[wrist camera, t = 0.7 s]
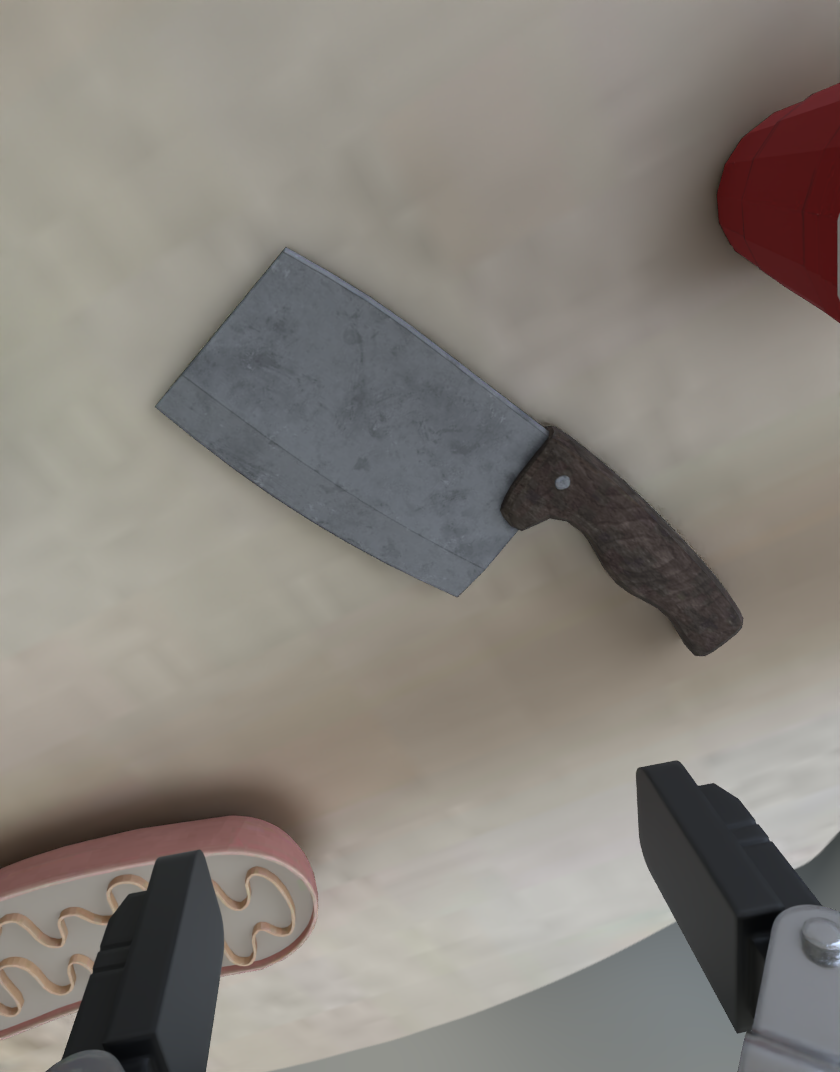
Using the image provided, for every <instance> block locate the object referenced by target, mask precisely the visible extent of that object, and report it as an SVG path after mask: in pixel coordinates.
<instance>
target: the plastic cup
mask: <svg viewBox="0 0 840 1072" xmlns="http://www.w3.org/2000/svg"><path fill="white" fill-rule="evenodd" d="M717 203H718V216H719V223H720V225H721V227H722V229H723V231H724V233H725V235H726V237H727V239H728V241H729V243H730V245H732V246H733V248H734V250H735V251H736V252H738V253H739V254H740V255H742V256H743V257H745V258H746V259H747V260H749V261H750V262H752V263H753V264H754V265H756V266H758V267H759V269H760V270H762V271H763V272H765V273H766V274H767V275H769V276H770V277H772V278H773V279H775V280H776V281H777V282H779V283H780V284H782V285H783V286H784V287H786V288H788V289H789V290H791V291H792V292H794V293H795V294H797V295H799V296H800V297H802V298H803V299H805V300H806V301H808V302H810V303H811V304H813V305H814V306H816V307H817V308H819V309H821V310H822V311H824V312H825V313H827V314H828V315H829V316H831V317H832V318H833V319H835V320H836V321H838V322H839V323H840V83H838V84H836V85H833V86H831V87H829V88H826V89H824V90H821V91H819V92H817V93H814V94H812V95H810V96H809V97H808V98H807V99H805V100H804V101H802V102H800V103H797V104H795V105H792V106H790V107H787V108H785V109H782V110H780V111H777V112H775V113H773V114H772V115H770V116H769V117H768V118H767V119H765V120H764V121H763V122H762V123H760V124H759V125H758V126H757V127H755V128H754V129H753V130H752V131H750V132H749V133H748V134H746V135H745V136H744V137H743V138H742V139H741V140H740V142H739V144H738V145H737V147H736V148H735V150H734V151H733V153H732V154H731V156H730V157H729V159H728V161H727V162H726V164H725V166H724V170H723V173H722V177H721V181H720V185H719V188H718V192H717Z"/></svg>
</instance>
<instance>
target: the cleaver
mask: <svg viewBox="0 0 840 1072" xmlns="http://www.w3.org/2000/svg"><path fill="white" fill-rule="evenodd" d="M155 407H156V408H157V409H158V410H159V411H161V412H162V413H163V414H164V415H166V416H167V417H168V418H169V419H171V420H172V421H173V422H174V423H176V424H177V425H178V426H179V427H180V428H182V429H183V430H184V431H185V432H187V433H188V434H189V435H190V436H192V437H193V438H194V439H195V440H197V441H198V442H199V443H201V444H202V445H203V446H205V447H206V448H207V449H208V450H210V451H211V452H212V453H214V454H215V455H216V456H218V457H219V458H220V459H221V460H223V461H224V462H225V463H227V464H228V465H229V466H231V467H232V468H233V469H235V470H236V471H237V472H239V473H240V474H242V475H243V476H245V477H246V478H247V479H249V480H250V481H252V482H253V483H254V484H256V485H257V486H259V487H260V488H262V489H263V490H264V491H266V492H267V493H269V494H270V495H271V496H273V497H275V498H276V499H278V500H279V501H281V502H282V503H284V504H285V505H287V506H288V507H290V508H292V509H293V510H295V511H296V512H298V513H299V514H301V515H302V516H304V517H306V518H307V519H309V520H310V521H312V522H314V523H315V524H317V525H319V526H320V527H322V528H324V529H325V530H327V531H329V532H330V533H332V534H334V535H335V536H337V537H339V538H340V539H342V540H344V541H346V542H347V543H349V544H351V545H353V546H355V547H356V548H358V549H360V550H362V551H364V552H366V553H368V554H369V555H371V556H373V557H375V558H377V559H379V560H380V561H382V562H384V563H386V564H388V565H390V566H392V567H394V568H396V569H398V570H400V571H403V572H405V573H407V574H409V575H411V576H413V577H415V578H417V579H419V580H421V581H423V582H425V583H427V584H430V585H432V586H434V587H436V588H438V589H440V590H443V591H445V592H447V593H449V594H451V595H453V596H455V597H458V596H459V595H460V594H461V593H462V592H463V591H464V590H465V589H466V588H467V587H468V586H469V585H470V584H471V583H472V582H473V581H474V580H475V579H476V578H477V577H478V576H479V575H480V574H481V573H482V572H483V571H484V570H485V569H486V568H487V567H488V566H489V564H490V563H491V562H492V561H493V560H494V558H495V557H496V556H497V555H498V554H499V553H500V551H501V550H502V549H503V548H504V547H505V545H506V544H507V543H508V542H509V541H510V539H511V538H512V537H513V536H514V535H515V534H516V532H517V531H518V530H521V531H523V530H525V529H527V528H530V527H532V526H534V525H537V524H539V523H541V522H543V521H545V520H548V519H556V520H562V521H567V522H568V523H570V524H571V525H573V526H574V527H576V528H577V529H578V530H580V531H581V532H582V533H583V534H584V536H585V537H586V538H587V539H588V541H589V542H590V544H591V546H592V548H593V549H594V551H595V553H596V555H597V557H598V558H599V560H600V562H601V564H602V566H603V567H604V569H605V570H606V571H607V572H608V574H609V575H610V576H611V578H612V579H613V580H614V581H615V582H616V584H618V585H619V586H620V587H622V588H623V589H624V590H626V591H627V592H629V593H630V594H632V595H634V596H636V597H638V598H640V599H642V600H644V601H645V602H647V603H649V604H651V605H653V606H655V607H656V608H658V609H659V610H660V611H661V612H662V613H664V614H665V615H666V616H667V617H668V618H669V620H670V621H671V623H672V624H673V626H674V627H675V629H676V630H677V632H678V634H679V636H680V637H681V639H682V641H683V643H684V644H685V645H686V647H687V648H688V649H689V650H690V651H691V652H692V653H693V654H694V655H695V656H706V655H708V654H710V653H712V652H713V651H715V650H716V649H717V648H719V647H720V646H722V645H723V644H724V643H726V642H727V641H728V640H729V639H731V638H732V637H733V636H734V635H736V634H737V633H738V632H739V630H740V629H741V628H742V625H743V617H742V614H741V612H740V610H739V608H738V607H737V605H736V604H735V602H734V601H733V599H732V598H731V596H730V595H729V594H728V592H727V591H726V589H725V588H724V587H723V585H722V584H721V583H720V582H719V580H718V579H717V578H716V576H715V575H714V574H713V573H712V572H711V570H710V569H709V568H708V567H707V566H706V564H705V563H704V562H703V561H702V560H701V559H700V558H699V557H698V555H697V554H696V553H695V552H694V551H693V550H692V549H691V548H690V547H689V546H688V545H687V543H686V542H685V541H684V540H683V539H682V538H681V537H680V536H679V535H678V534H677V533H676V532H675V531H674V530H673V529H672V528H671V526H670V525H669V524H668V523H667V522H666V521H665V520H664V519H663V518H662V517H661V516H660V515H659V514H658V513H657V512H656V511H655V510H654V509H653V508H652V507H651V506H650V505H649V504H648V503H647V502H646V501H645V500H644V499H643V498H642V497H641V496H640V495H638V494H637V493H636V492H635V491H634V490H633V489H632V488H631V487H630V486H629V485H628V484H627V483H626V482H625V481H623V480H622V479H621V478H620V477H619V476H618V475H617V474H615V473H614V472H613V471H612V470H611V469H610V468H609V467H607V466H606V465H605V464H604V463H603V462H601V461H600V460H599V459H598V458H597V457H595V456H594V455H593V454H592V453H590V452H589V451H588V450H587V449H586V448H584V447H583V446H582V445H580V444H579V443H578V442H577V441H575V440H574V439H573V438H571V437H570V436H569V435H567V434H566V433H564V432H563V431H561V430H560V429H558V428H557V427H554V426H548V427H545V428H544V427H543V426H541V425H540V424H539V423H537V422H536V421H535V420H533V419H532V418H531V417H530V416H528V415H527V414H526V413H524V412H523V411H522V410H520V409H519V408H518V407H517V406H515V405H514V404H513V403H511V402H510V401H509V400H507V399H506V398H505V397H504V396H502V395H501V394H500V393H498V392H497V391H496V390H494V389H493V388H492V387H491V386H489V385H488V384H487V383H485V382H484V381H483V380H481V379H480V378H479V377H478V376H476V375H475V374H474V373H472V372H471V371H470V370H468V369H467V368H466V367H465V366H463V365H462V364H461V363H459V362H458V361H457V360H455V359H454V358H453V357H452V356H450V355H449V354H448V353H446V352H445V351H444V350H442V349H441V348H440V347H438V346H437V345H436V344H435V343H433V342H432V341H431V340H429V339H428V338H427V337H425V336H424V335H423V334H421V333H420V332H419V331H417V330H416V329H415V328H413V327H412V326H411V325H409V324H408V323H407V322H405V321H404V320H402V319H401V318H400V317H398V316H397V315H395V314H394V313H393V312H391V311H390V310H388V309H387V308H385V307H384V306H383V305H381V304H380V303H378V302H377V301H375V300H374V299H373V298H371V297H370V296H368V295H366V294H365V293H363V292H362V291H360V290H358V289H357V288H355V287H353V286H352V285H350V284H349V283H347V282H345V281H344V280H342V279H340V278H339V277H337V276H336V275H334V274H332V273H331V272H329V271H327V270H325V269H324V268H322V267H320V266H318V265H317V264H315V263H313V262H311V261H310V260H308V259H306V258H304V257H303V256H301V255H299V254H297V253H296V252H294V251H292V250H290V249H289V248H287V247H286V248H285V249H284V250H283V251H282V252H281V254H280V255H279V256H278V257H277V259H276V260H275V261H274V262H273V263H272V265H271V266H270V267H269V268H268V270H267V271H266V272H265V273H264V274H263V276H262V277H261V278H260V279H259V280H258V282H257V283H256V284H255V285H254V287H253V288H252V289H251V290H250V291H249V293H248V294H247V295H246V296H245V298H244V299H243V300H242V301H241V302H240V304H239V305H238V306H237V307H236V308H235V310H234V311H233V312H232V313H231V315H230V316H229V317H228V318H227V319H226V321H225V322H224V323H223V324H222V325H221V327H220V328H219V329H218V330H217V332H216V333H215V334H214V335H213V336H212V338H211V339H210V340H209V341H208V342H207V344H206V345H205V346H204V347H203V349H202V350H201V351H200V352H199V353H198V355H197V356H196V357H195V358H194V359H193V361H192V362H191V363H190V364H189V366H188V367H187V368H186V369H185V370H184V372H183V373H182V374H181V375H180V377H179V378H178V379H177V380H176V381H175V383H174V384H173V385H172V386H171V388H170V389H169V390H168V391H167V393H166V394H165V395H164V396H163V397H162V399H161V400H160V401H159V402H158V404H157V405H156V406H155Z"/></svg>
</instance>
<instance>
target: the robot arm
mask: <svg viewBox="0 0 840 1072" xmlns="http://www.w3.org/2000/svg"><path fill="white" fill-rule="evenodd" d="M636 785H637V805H638V825H639V838H640V844H641V848H642V852H643V856H644V859H645V862H646V864H647V867H648V869H649V871H650V873H651V875H652V877H653V879H654V880H655V882H656V884H657V886H658V888H659V890H660V892H661V893H662V895H663V897H664V899H665V901H666V903H667V905H668V906H669V908H670V910H671V912H672V914H673V916H674V917H675V919H676V921H677V923H678V925H679V927H680V929H681V930H682V932H683V934H684V936H685V938H686V940H687V941H688V943H689V945H690V947H691V949H692V951H693V952H694V954H695V956H696V958H697V960H698V962H699V964H700V966H701V968H702V969H703V971H704V973H705V975H706V977H707V979H708V981H709V982H710V984H711V986H712V988H713V990H714V992H715V993H716V995H717V997H718V999H719V1001H720V1003H721V1005H722V1006H723V1008H724V1010H725V1012H726V1014H727V1016H728V1018H729V1020H730V1021H731V1023H732V1025H733V1027H734V1029H735V1031H736V1032H737V1033H742V1032H746V1035H745V1039H744V1042H743V1047H742V1052H741V1057H740V1062H739V1067H738V1071H737V1072H840V912H839V911H837V910H834V909H831V908H828V907H824V906H822V905H821V904H820V902H819V901H818V900H817V899H816V897H815V896H814V895H813V893H812V892H811V891H810V890H809V888H808V887H807V886H806V885H805V883H804V882H803V881H802V879H801V878H800V877H799V876H798V874H797V873H796V872H795V870H794V869H793V868H792V867H791V865H790V864H789V863H788V861H787V860H786V859H785V858H784V856H783V855H782V854H781V852H780V851H779V850H778V849H777V847H776V846H775V845H774V843H773V842H770V841H769V837H768V836H767V835H766V833H765V832H764V831H763V829H762V828H761V827H760V826H759V824H756V822H755V819H754V818H753V817H752V815H751V814H750V813H749V812H748V810H747V809H746V808H745V806H744V805H743V804H742V803H741V801H740V800H739V799H738V798H736V797H735V796H733V795H731V794H730V793H728V792H727V791H725V790H724V789H722V788H721V787H719V786H717V785H716V784H714V783H712V784H707V785H701V786H698V785H697V784H696V783H695V781H694V780H693V779H692V777H691V776H690V774H689V773H688V772H687V770H686V769H685V767H684V766H683V765H682V764H681V763H680V762H679V761H671V762H666V763H661V764H655V765H650V766H645V767H639V768H638V769H637V772H636ZM223 954H224V927H223V920H222V915H221V911H220V908H219V904H218V901H217V897H216V894H215V890H214V887H213V883H212V880H211V876H210V873H209V869H208V866H207V862H206V859H205V856H204V854H203V852H202V851H201V850H194V851H189V852H183V853H178V854H173V855H167V856H162V857H158V858H157V859H156V861H155V864H154V867H153V870H152V874H151V877H150V881H149V884H148V888H147V890H146V891H141V892H136V893H131V894H128V896H127V897H126V898H125V899H124V901H123V902H122V903H121V905H120V906H119V907H118V908H117V910H116V911H115V912H114V914H113V915H112V916H111V917H110V919H109V921H108V924H107V927H106V930H105V933H104V936H103V939H102V942H101V944H100V952H98V953H97V956H96V959H95V962H94V965H93V968H92V969H93V973H92V974H90V977H89V980H88V983H87V986H86V989H85V992H84V995H83V998H82V1001H81V1004H80V1007H79V1010H78V1013H77V1016H76V1019H75V1022H74V1025H73V1028H72V1031H71V1034H70V1037H69V1039H68V1042H67V1045H66V1048H65V1051H64V1054H63V1057H62V1060H61V1061H59V1062H58V1063H56V1064H55V1065H53V1066H52V1067H51V1068H49V1069H48V1070H47V1071H46V1072H206V1067H207V1060H208V1053H209V1047H210V1040H211V1034H212V1027H213V1020H214V1014H215V1007H216V1001H217V994H218V987H219V981H220V974H221V968H222V961H223ZM751 1030H752V1031H751Z"/></svg>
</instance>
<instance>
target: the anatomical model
mask: <svg viewBox="0 0 840 1072" xmlns="http://www.w3.org/2000/svg"><path fill="white" fill-rule="evenodd" d="M194 850H201V851H202V852H203V854H204V856H205V859H206V862H207V866H208V869H209V873H210V876H211V880H212V883H213V887H214V890H215V894H216V897H217V901H218V904H219V908H220V911H221V915H222V920H223V927H224V954H223V961H222V968H221V974H220V977H223V976H228V975H234V974H240V973H245V972H251V971H257V970H262V969H264V968H267V967H269V966H271V965H273V964H275V963H277V962H279V961H282V960H284V959H285V958H287V957H288V956H289V955H291V954H292V953H294V952H295V951H296V950H297V949H299V948H300V947H301V946H302V944H303V943H304V942H305V941H306V940H307V938H308V937H309V936H310V934H311V932H312V931H313V929H314V926H315V923H316V920H317V915H318V892H317V887H316V882H315V877H314V873H313V871H312V868H311V866H310V863H309V861H308V859H307V857H306V856H305V854H304V852H303V851H302V850H301V848H300V847H299V846H298V844H297V843H296V842H295V841H294V840H293V839H292V838H291V837H290V836H289V835H288V834H287V833H285V832H284V831H283V830H281V829H280V828H279V827H277V826H275V825H273V824H271V823H269V822H267V821H264V820H261V819H257V818H254V817H246V816H235V815H230V816H223V817H216V818H209V819H202V820H196V821H189V822H182V823H175V824H168V825H161V826H154V827H147V828H141V829H135V830H131V831H127V832H122V833H118V834H114V835H110V836H106V837H101V838H97V839H93V840H89V841H85V842H80V843H76V844H72V845H68V846H64V847H61V848H58V849H54V850H51V851H48V852H45V853H42V854H39V855H36V856H33V857H30V858H27V859H24V860H21V861H19V862H16V863H14V864H11V865H8V866H6V867H3V868H1V869H0V1040H3V1039H6V1038H9V1037H12V1036H14V1035H17V1034H19V1033H22V1032H25V1031H27V1030H30V1029H32V1028H35V1027H37V1026H40V1025H42V1024H45V1023H48V1022H50V1021H53V1020H55V1019H58V1018H61V1017H64V1016H66V1015H69V1014H72V1013H75V1012H78V1010H79V1007H80V1004H81V1001H82V998H83V995H84V992H85V989H86V986H87V983H88V980H89V977H90V974H92V973H93V969H92V968H93V965H94V962H95V959H96V956H97V953H98V952H100V944H101V942H102V939H103V936H104V933H105V930H106V927H107V924H108V921H109V919H110V917H111V916H112V915H113V914H114V912H115V911H116V910H117V908H118V907H119V906H120V905H121V903H122V902H123V901H124V899H125V898H126V897H127V896H128V894H131V893H136V892H141V891H146V890H147V888H148V884H149V881H150V877H151V874H152V870H153V867H154V864H155V861H156V859H157V858H158V857H162V856H167V855H173V854H178V853H183V852H189V851H194Z"/></svg>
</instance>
